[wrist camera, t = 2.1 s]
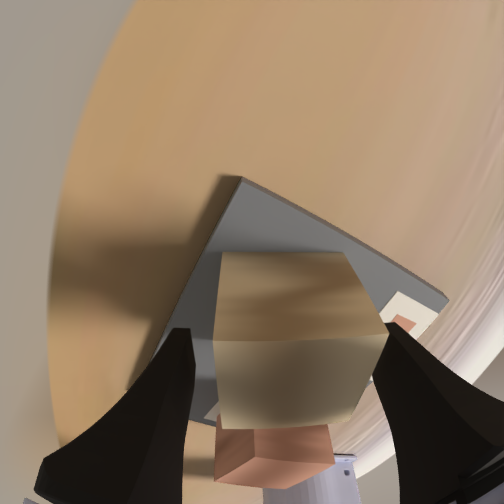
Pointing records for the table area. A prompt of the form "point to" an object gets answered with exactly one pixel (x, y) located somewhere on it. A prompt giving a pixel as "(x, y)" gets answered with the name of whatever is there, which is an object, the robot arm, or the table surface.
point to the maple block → (292, 339)
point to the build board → (287, 240)
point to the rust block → (271, 455)
